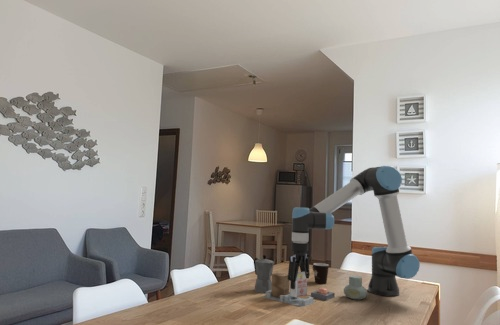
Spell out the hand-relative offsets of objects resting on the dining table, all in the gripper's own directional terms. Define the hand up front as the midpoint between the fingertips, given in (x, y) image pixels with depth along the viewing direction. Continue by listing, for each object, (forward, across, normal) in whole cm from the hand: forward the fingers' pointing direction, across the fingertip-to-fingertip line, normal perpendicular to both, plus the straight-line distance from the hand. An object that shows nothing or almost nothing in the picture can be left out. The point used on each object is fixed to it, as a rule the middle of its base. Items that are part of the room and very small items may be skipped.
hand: (298, 294), depth 161 cm
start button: (+3, -15, +4) cm, 16 cm away
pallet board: (+4, 0, -5) cm, 6 cm away
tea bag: (0, 0, 0) cm, 0 cm away
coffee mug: (+4, -47, -14) cm, 49 cm away
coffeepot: (+4, -4, -23) cm, 24 cm away
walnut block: (+3, 0, -10) cm, 10 cm away
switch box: (+4, -15, +4) cm, 16 cm away
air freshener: (+4, -29, +14) cm, 33 cm away
